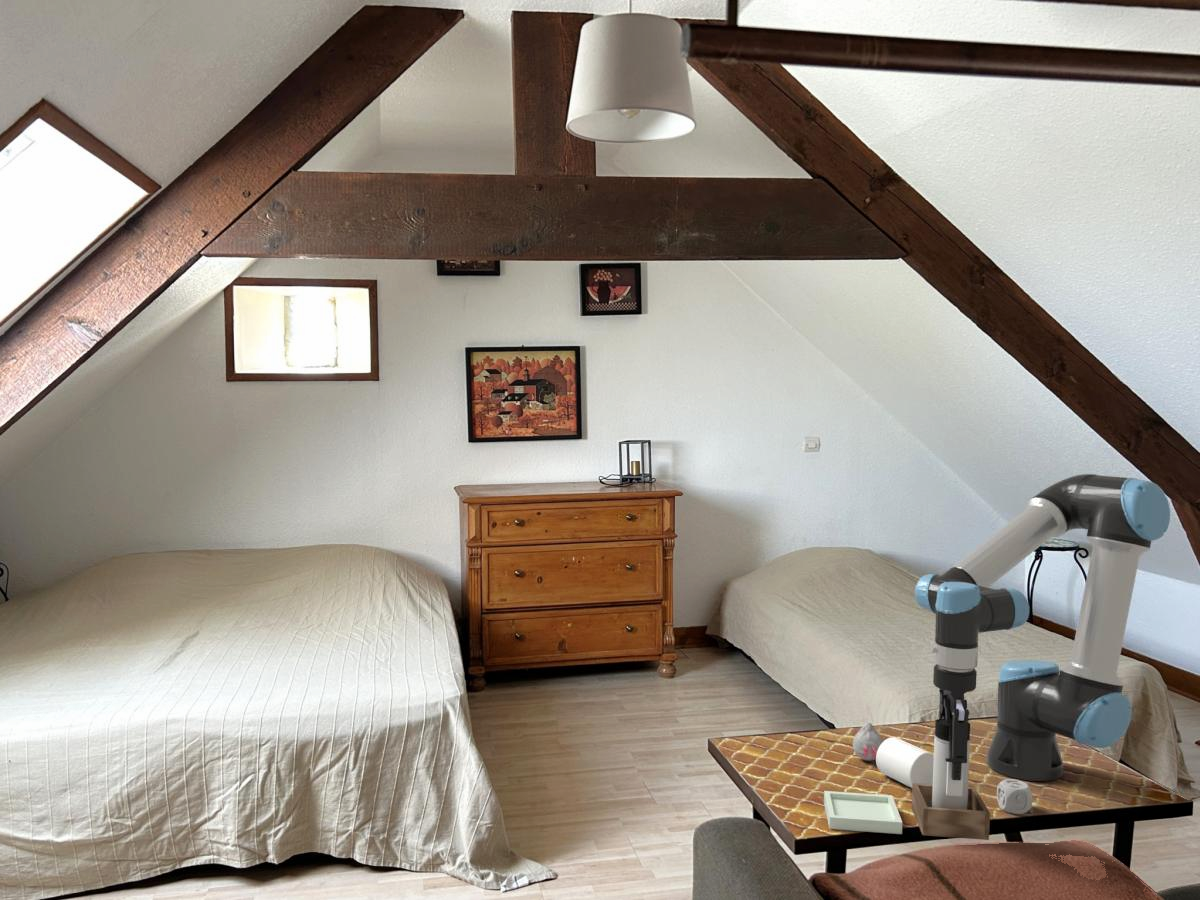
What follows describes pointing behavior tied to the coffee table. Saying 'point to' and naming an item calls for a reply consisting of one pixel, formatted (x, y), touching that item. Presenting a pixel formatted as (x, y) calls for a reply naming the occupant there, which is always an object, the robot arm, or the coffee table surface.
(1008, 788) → the die
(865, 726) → the figurine
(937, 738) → the travel mug
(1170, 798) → the coffee table surface
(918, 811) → the holder
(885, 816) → the tray
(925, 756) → the mug
